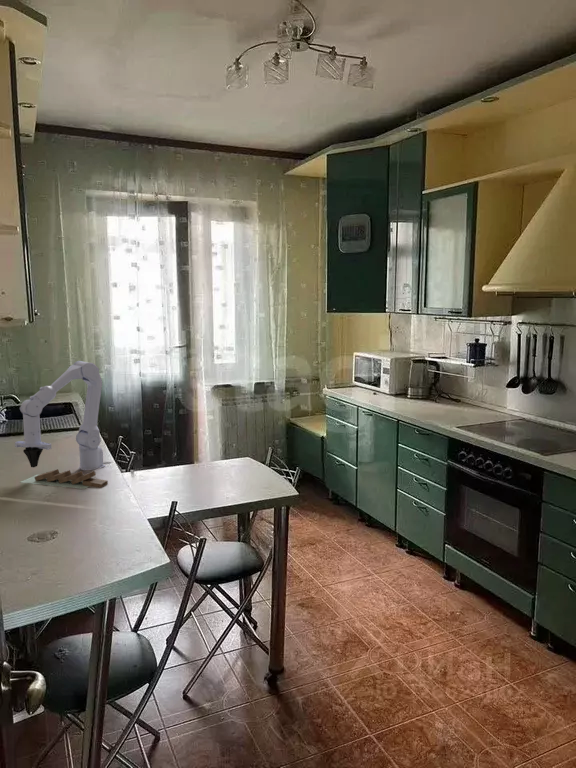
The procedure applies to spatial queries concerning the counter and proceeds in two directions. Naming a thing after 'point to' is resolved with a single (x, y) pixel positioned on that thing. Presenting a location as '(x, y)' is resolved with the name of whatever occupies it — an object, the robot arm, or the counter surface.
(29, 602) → the counter surface
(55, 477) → the domino
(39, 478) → the domino
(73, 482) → the domino
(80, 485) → the board
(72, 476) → the domino
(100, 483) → the domino end
